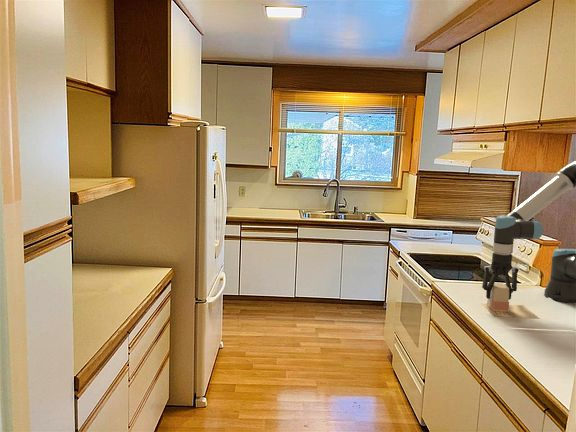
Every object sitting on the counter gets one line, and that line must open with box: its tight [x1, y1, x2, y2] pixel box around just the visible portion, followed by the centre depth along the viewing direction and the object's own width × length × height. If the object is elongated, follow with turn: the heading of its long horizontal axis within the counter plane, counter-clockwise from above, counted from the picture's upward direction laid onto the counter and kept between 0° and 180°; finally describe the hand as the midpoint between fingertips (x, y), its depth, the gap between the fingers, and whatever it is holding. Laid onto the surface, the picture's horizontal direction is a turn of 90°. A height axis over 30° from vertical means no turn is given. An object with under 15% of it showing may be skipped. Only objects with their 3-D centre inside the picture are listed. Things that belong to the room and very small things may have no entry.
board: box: [481, 303, 541, 320], centre depth 200 cm, size 18×16×1 cm
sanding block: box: [486, 282, 510, 312], centre depth 202 cm, size 6×8×10 cm
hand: (497, 306), depth 203 cm, fingers closed on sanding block, 6 cm apart
